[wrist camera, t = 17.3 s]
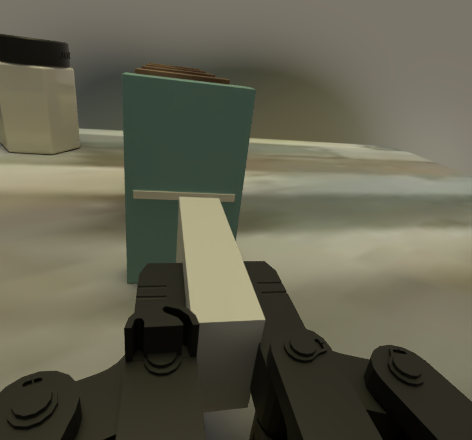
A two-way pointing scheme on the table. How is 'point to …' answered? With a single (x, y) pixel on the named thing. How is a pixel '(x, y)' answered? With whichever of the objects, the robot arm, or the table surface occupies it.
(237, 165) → the domino teal
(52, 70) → the jar
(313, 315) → the table surface
